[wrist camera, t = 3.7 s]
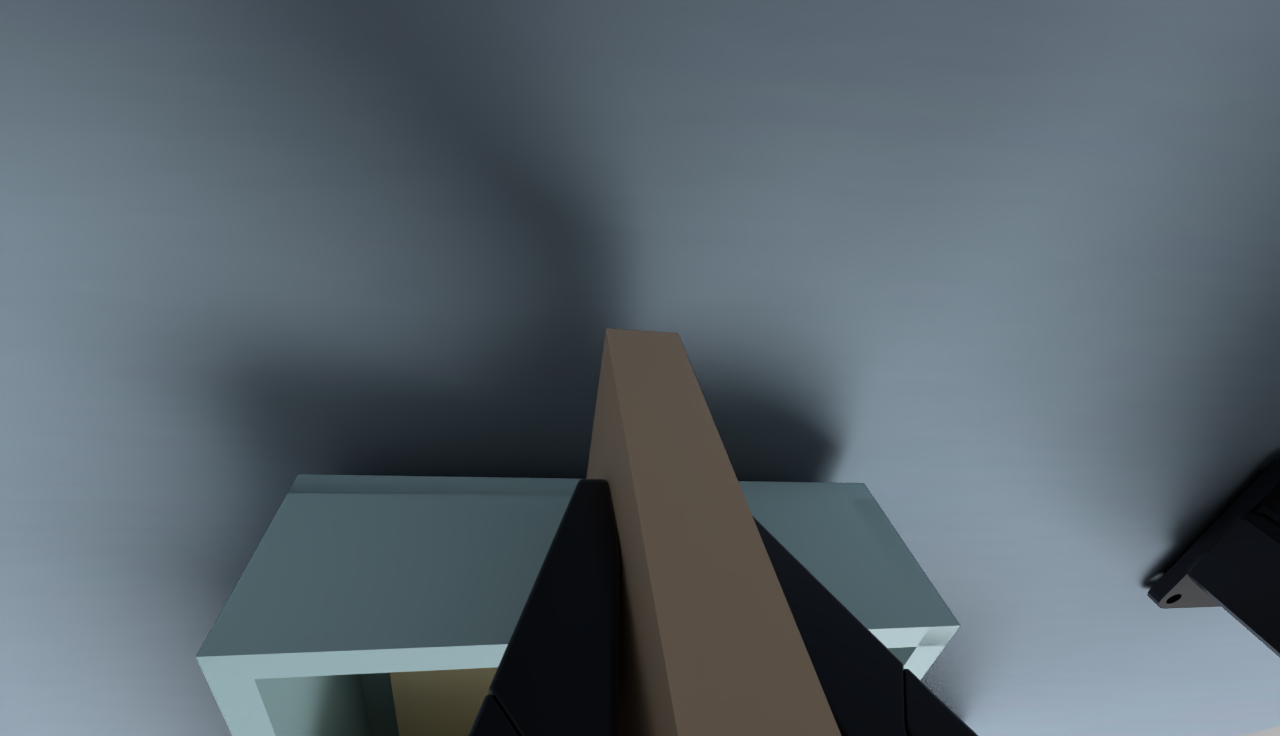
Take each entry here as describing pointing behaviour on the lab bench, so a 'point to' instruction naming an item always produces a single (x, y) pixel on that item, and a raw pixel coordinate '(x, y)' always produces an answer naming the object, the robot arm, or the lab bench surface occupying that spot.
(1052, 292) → the lab bench surface
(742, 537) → the tray
